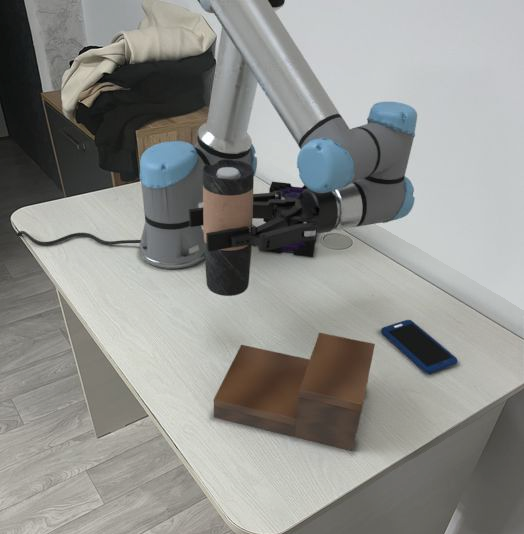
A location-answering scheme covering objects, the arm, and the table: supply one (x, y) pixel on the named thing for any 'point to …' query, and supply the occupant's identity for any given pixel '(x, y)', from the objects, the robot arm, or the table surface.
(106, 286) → the table surface
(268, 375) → the walnut shelf
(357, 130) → the robot arm
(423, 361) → the cell phone
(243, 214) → the travel mug
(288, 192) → the energy cube
